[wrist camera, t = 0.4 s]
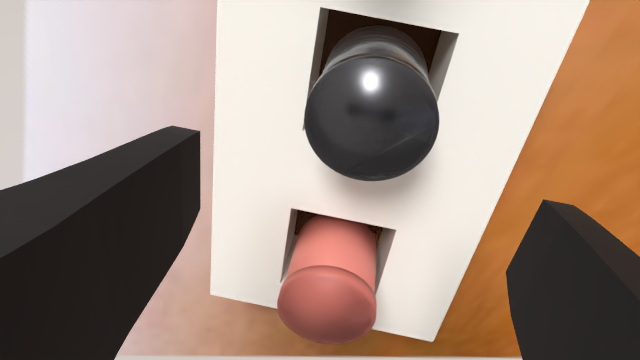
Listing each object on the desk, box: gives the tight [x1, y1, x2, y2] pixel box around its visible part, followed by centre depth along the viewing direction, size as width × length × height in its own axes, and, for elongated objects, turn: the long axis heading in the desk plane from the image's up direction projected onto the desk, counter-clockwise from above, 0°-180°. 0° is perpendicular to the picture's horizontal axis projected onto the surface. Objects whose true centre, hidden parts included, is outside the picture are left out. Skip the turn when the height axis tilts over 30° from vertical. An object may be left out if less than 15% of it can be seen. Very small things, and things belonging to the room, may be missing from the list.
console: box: [210, 0, 590, 342], centre depth 19 cm, size 11×16×4 cm
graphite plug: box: [304, 25, 439, 181], centre depth 14 cm, size 4×4×4 cm
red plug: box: [277, 214, 377, 344], centre depth 19 cm, size 4×4×4 cm
